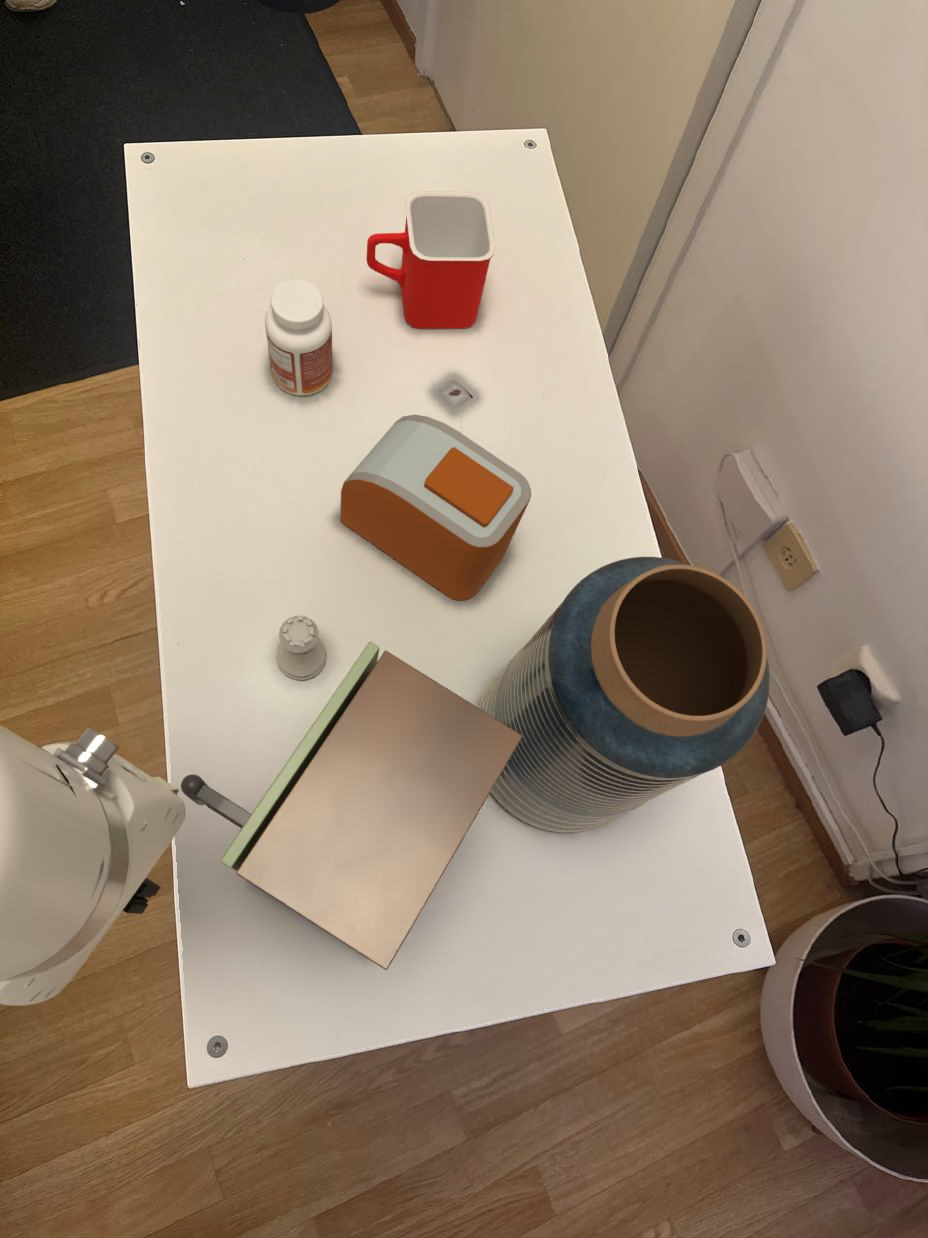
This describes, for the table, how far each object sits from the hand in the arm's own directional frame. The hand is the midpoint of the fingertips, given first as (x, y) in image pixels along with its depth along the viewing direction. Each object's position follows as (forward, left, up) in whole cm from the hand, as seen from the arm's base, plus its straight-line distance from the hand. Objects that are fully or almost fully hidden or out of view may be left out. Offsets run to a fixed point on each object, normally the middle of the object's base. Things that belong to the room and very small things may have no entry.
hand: (128, 884), depth 48 cm
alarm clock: (-2, +38, -27) cm, 47 cm away
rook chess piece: (-5, +21, -27) cm, 34 cm away
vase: (+19, +27, -27) cm, 43 cm away
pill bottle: (-22, +46, -27) cm, 58 cm away
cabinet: (+9, +10, -26) cm, 30 cm away
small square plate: (-7, +53, -27) cm, 60 cm away
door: (+2, +10, -6) cm, 12 cm away
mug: (-17, +61, -27) cm, 69 cm away
